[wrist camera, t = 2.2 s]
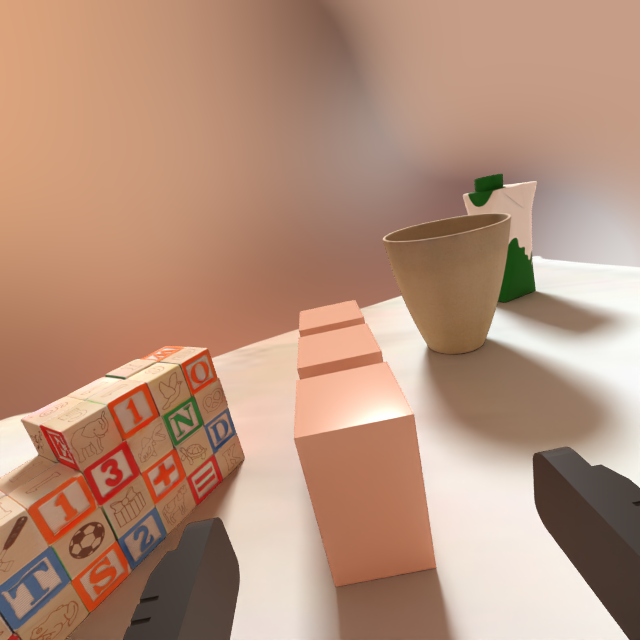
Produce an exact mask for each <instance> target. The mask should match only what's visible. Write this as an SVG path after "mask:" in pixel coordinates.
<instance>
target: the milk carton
mask: <svg viewBox="0 0 640 640" xmlns="http://www.w3.org/2000/svg"><path fill="white" fill-rule="evenodd" d="M536 184H537V181H533V182H526V183H519V184H510V185H503V174H497V175H492V176H487V177H482V178H478V179H475V192H472V193H468V194H464V195H463V198H464V202H465V205H466V209H467V212H468V215H475V214H485V213H507V214H510V215H511V225H510V234H509V243H508V251H507V259H506V265H505V270H504V276H503V280H502V285H501V290H500V294H499V298H498V301H500V302H508V301H510V300H513V299H515V298H518V297H521V296H523V295H526V294H528V293H531V292H534V291H536V289H535V281H534V272H533V264H532V205H533V199H534V195H535V190H536Z"/></svg>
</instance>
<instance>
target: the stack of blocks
mask: <svg viewBox="0 0 640 640" xmlns="http://www.w3.org/2000/svg"><path fill="white" fill-rule="evenodd" d="M21 421H22V423H23V425H24V427H25V429H26V431H27V432H28V434H29V436H30V438H31V440H32V442H33V444H34V446H35V448H36V450H37V452H38V456H36V457H34V458H33V459H31V460H29V461H27V462H26V463H24V464H22V465H21V466H19V467H18V468H16V469H14V470H13V471H11V472H9V473H8V474H6V475H4V476H3V477H1V478H0V640H65V639H66V638H67V637H68V636H69V635H70V634H71V633H72V632H73V631H74V630H75V629H76V628H77V626H78V625H79V624H80V623H81V622H82V621H83V620H84V619H85V618H86V617H87V616H88V614H89V613H90V612H92V611H93V610H94V609H95V608H96V607H97V606H98V605H99V604H100V603H101V602H102V601H103V600H104V599H105V598H106V597H107V596H108V595H109V594H110V593H111V592H112V591H113V590H114V589H115V588H116V587H117V586H118V585H119V584H120V583H121V582H122V581H123V580H124V579H125V578H126V577H127V576H128V575H129V574H130V573H131V571H132V570H133V569H134V568H135V567H136V566H137V565H138V564H139V563H140V562H141V561H142V560H143V559H144V558H145V557H146V556H147V555H148V554H149V553H150V552H151V551H152V550H153V549H154V548H155V547H156V546H157V545H158V544H159V543H160V542H161V541H162V540H163V539H164V538H165V537H166V536H167V534H169V533H170V532H171V531H172V530H173V529H174V528H175V527H176V526H177V525H178V524H179V523H180V522H181V521H182V520H183V519H184V518H185V517H186V516H187V515H188V514H189V513H190V512H191V511H192V510H193V509H194V508H195V507H196V505H198V504H199V503H200V502H201V501H202V500H203V499H204V498H205V497H206V496H207V495H208V494H209V493H210V492H211V491H212V490H213V489H214V488H215V487H216V486H217V485H218V484H219V483H220V482H221V481H222V480H223V479H224V478H226V477H227V476H228V475H229V474H230V473H231V472H232V471H233V470H234V469H235V468H236V467H237V465H238V464H239V463H240V462H241V461H242V460H243V459H244V458H245V457H244V453H243V450H242V448H241V445H240V442H239V438H238V436H237V433H236V431H235V427H234V424H233V421H232V418H231V415H230V412H229V409H228V404H227V401H226V397H225V395H224V391H223V388H222V385H221V382H220V379H219V378H217V375H216V371H215V368H214V365H213V362H212V359H211V356H210V353H209V350H208V349H207V348H195V347H186V348H185V347H176V346H166V347H163V348H162V349H159V350H157V351H156V352H154V353H152V354H149V355H147V356H145V357H143V358H142V359H136V360H133V361H131V362H129V363H127V364H126V365H123V366H121V367H119V368H117V369H115V370H113V371H111V372H109V373H108V374H106V377H102V378H100V379H98V380H96V381H94V382H92V383H90V384H88V385H86V386H84V387H82V388H81V389H78V390H77V391H75V392H73V393H71V394H69V395H68V396H67V397H63V398H61V399H60V400H57V401H55V402H53V403H51V404H50V405H48V406H46V407H44V408H42V409H40V410H38V411H36V412H34V413H32V414H30V415H28V416H26V417H24V418H22V419H21Z"/></svg>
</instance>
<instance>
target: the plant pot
mask: <svg viewBox="0 0 640 640" xmlns="http://www.w3.org/2000/svg"><path fill="white" fill-rule="evenodd" d="M510 225H511V215H510V214H507V213H485V214H475V215H467V216H460V217H454V218H448V219H443V220H437V221H432V222H429V223H423V224H419V225H415V226H411V227H408V228H405V229H401V230H398V231H395V232H393V233H390V234H388V235H386V236H385V237H384V238H383V242H384V246H385V249H386V252H387V255H388V259H389V262H390V265H391V268H392V271H393V274H394V277H395V279H396V282H397V284H398V287H399V289H400V292H401V294H402V297H403V299H404V301H405V303H406V306H407V308H408V310H409V312H410V314H411V316H412V318H413V320H414V322H415V324H416V326H417V328H418V329H419V331H420V333H421V335H422V337H423V338H424V340H425V342H426V343H427V345H428V347H429V348H430V349H432V350H434V351H436V352H439V353H445V354H460V353H466V352H470V351H473V350H476V349H478V348H480V347H481V346H482V345H483V344H484V342H485V339H486V337H487V334H488V331H489V328H490V325H491V322H492V319H493V316H494V313H495V309H496V306H497V302H498V298H499V294H500V290H501V285H502V280H503V276H504V270H505V265H506V259H507V251H508V243H509V234H510Z"/></svg>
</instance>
